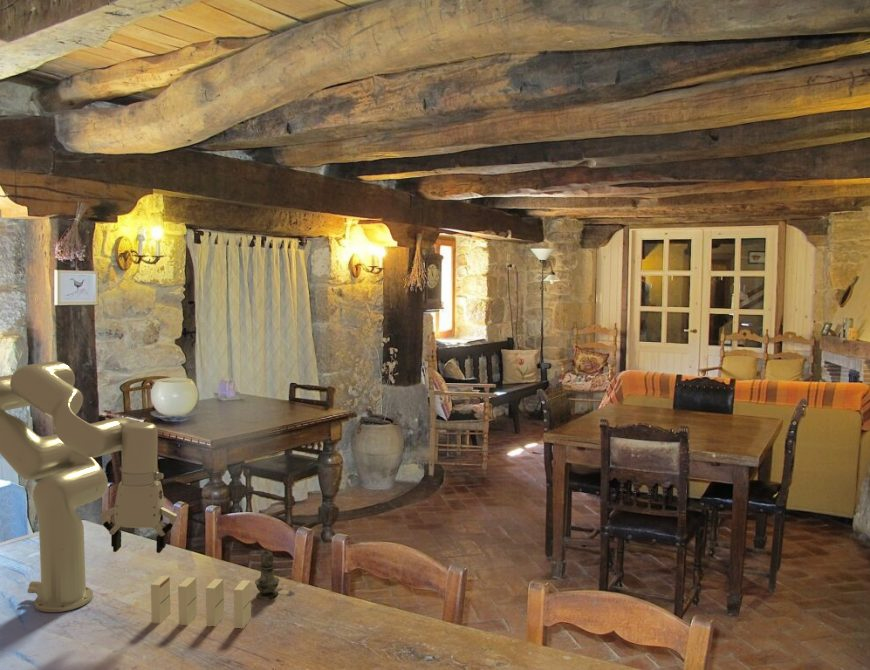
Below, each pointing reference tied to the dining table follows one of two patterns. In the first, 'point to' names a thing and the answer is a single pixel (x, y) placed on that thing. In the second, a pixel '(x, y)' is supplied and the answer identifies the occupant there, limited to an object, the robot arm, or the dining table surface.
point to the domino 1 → (160, 599)
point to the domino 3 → (214, 602)
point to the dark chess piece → (267, 578)
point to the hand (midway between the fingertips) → (138, 550)
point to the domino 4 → (242, 604)
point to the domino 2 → (187, 600)
